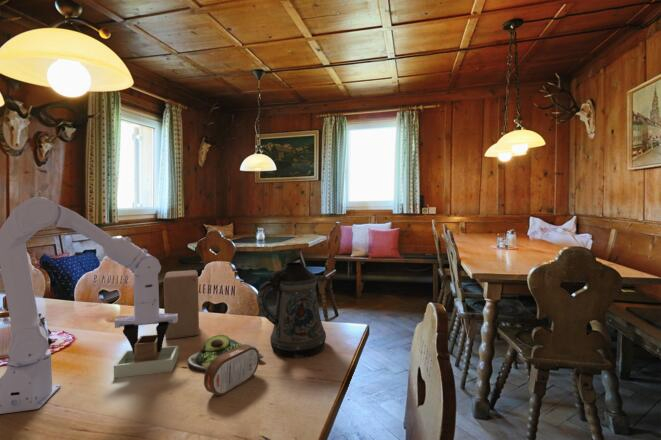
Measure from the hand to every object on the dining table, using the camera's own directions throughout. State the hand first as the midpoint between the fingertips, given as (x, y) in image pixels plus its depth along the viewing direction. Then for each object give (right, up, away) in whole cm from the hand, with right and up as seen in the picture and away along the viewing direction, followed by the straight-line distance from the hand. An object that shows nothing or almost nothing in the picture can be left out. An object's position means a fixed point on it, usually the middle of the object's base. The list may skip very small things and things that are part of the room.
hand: (147, 351), depth 91 cm
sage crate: (0, -4, 0) cm, 4 cm away
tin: (+25, -5, -10) cm, 28 cm away
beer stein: (+37, -4, +11) cm, 39 cm away
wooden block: (-1, -3, +24) cm, 24 cm away
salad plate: (+18, -4, +5) cm, 20 cm away
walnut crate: (0, -2, 0) cm, 2 cm away
